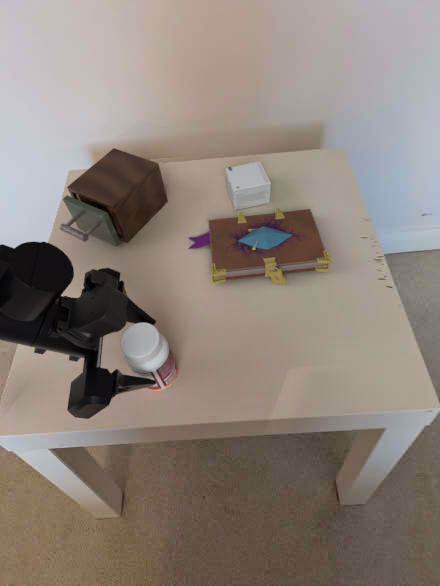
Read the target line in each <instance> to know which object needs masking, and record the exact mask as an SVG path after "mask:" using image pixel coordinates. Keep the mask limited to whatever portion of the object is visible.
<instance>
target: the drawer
mask: <svg viewBox="0 0 440 586" xmlns="http://www.w3.org/2000/svg"><path fill="white" fill-rule="evenodd" d="M75 194H76V193H75ZM76 196H77V198H78V200H77V199H74V198H72V197H71V195H70V196H69V195H65V196H64V197H63V198H62V201H63V203H64V204H65V206H66V208H67V210H68V212H69V214H70V215H71V218H70V219H69V220H68V221H66V223H61V224H60V225H59V230H60V231H61V232H63V233H65V234H67V235H70V236H71V237H74V238H75V239H78V240H80V241H81V242H84V243H85V242H87V241H88V240H89V238H90V237H89V236H91V235H92V236H93V237H96V238H98V239H99V240H102V241H104V242H106V243H108V244H111V245H113V246H114V247H118V246H119V245H120V244H121V240H120V239H119V238H118V235H117V234H119V235H122V234H121V232H120V229H119V227H118V225H117V222H116V220H115V218H114V215H113V213H112V210H111V208H109V207H106V206H104V205H102V204H99V203H97V202H95V201H92V200H90V199H88V198H85V197H83V196H80V195H78V194H76ZM74 223H75V225H76V226H77V228H78V229H76V228H74V227H72V225H73V224H74Z"/></svg>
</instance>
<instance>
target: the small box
mask: <svg viewBox="0 0 440 586" xmlns="http://www.w3.org/2000/svg"><path fill="white" fill-rule="evenodd" d="M224 171H225V185H226V186H225V187H226V190H227V193H228V196H229V198H230V201H231V204H232V206H233V207H232V208H233V209H234V211H238V210H245V209H248V208H253V207H256V206H262V205H268V204H270V203H271V190H272V189H271V188H272V187H271V186H272V182H271V180H270V178H269V176H268V174H267V172H266V169H265V168H264V166H263V164H262V162H261V160H259V161H254V162H249V163H244V164H240V165H234V166H228V167H225V170H224Z"/></svg>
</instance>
